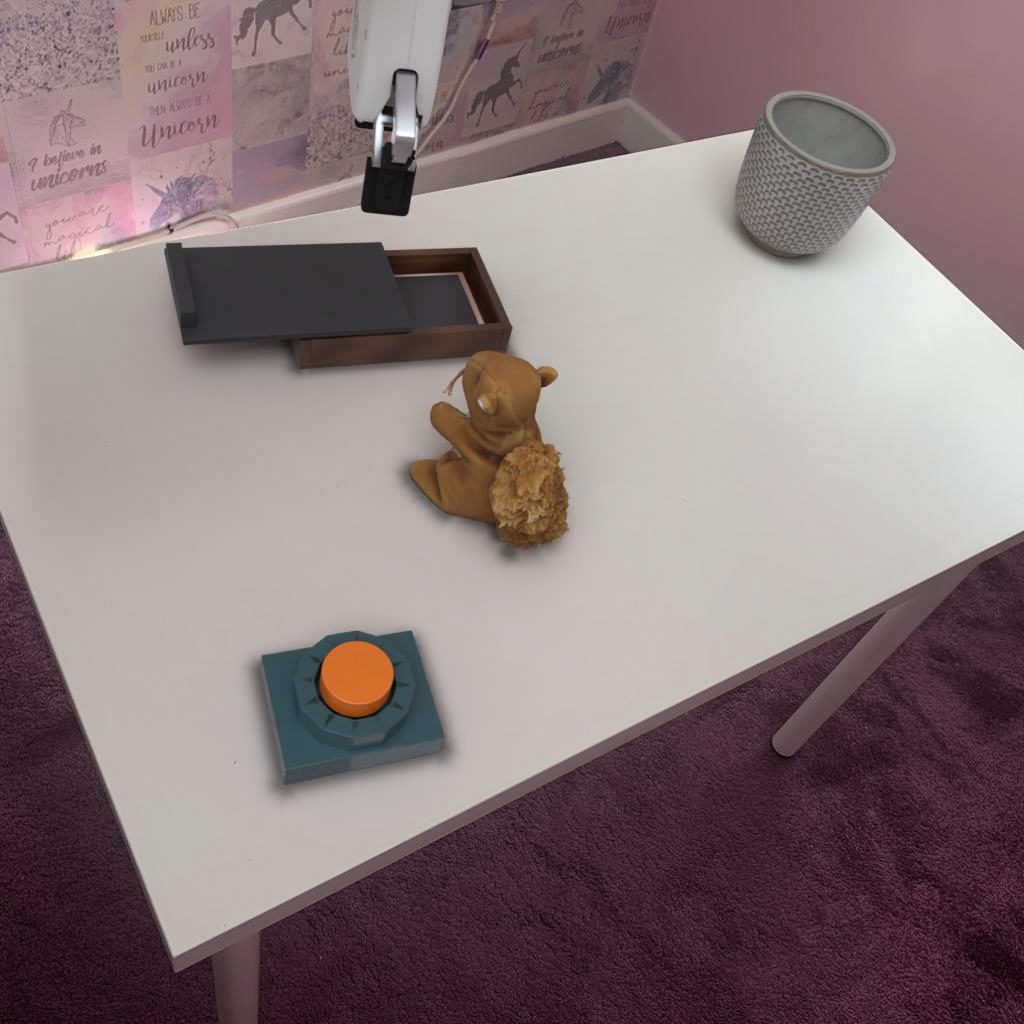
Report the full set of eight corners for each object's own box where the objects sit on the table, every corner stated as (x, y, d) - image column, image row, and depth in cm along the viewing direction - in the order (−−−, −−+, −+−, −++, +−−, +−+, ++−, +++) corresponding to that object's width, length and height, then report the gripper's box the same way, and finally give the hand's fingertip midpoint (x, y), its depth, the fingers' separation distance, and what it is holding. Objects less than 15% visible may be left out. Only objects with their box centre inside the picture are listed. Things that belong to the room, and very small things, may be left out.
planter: (689, 211, 112) (735, 101, 102) (775, 185, 119) (826, 80, 109) (778, 294, 107) (836, 186, 97) (862, 261, 114) (925, 158, 104)
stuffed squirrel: (500, 422, 87) (538, 301, 77) (596, 550, 81) (651, 438, 71) (394, 456, 83) (420, 333, 72) (488, 595, 77) (530, 482, 66)
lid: (183, 346, 80) (182, 324, 78) (164, 253, 86) (163, 231, 84) (412, 331, 87) (416, 311, 85) (380, 247, 92) (384, 226, 91)
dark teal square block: (283, 785, 65) (287, 757, 62) (259, 671, 69) (262, 640, 66) (439, 752, 68) (450, 724, 65) (407, 646, 73) (416, 615, 69)
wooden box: (298, 369, 86) (301, 341, 84) (274, 281, 92) (275, 253, 89) (505, 354, 93) (513, 328, 90) (470, 273, 98) (476, 246, 96)
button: (327, 723, 64) (330, 710, 63) (312, 661, 66) (314, 646, 65) (398, 710, 65) (401, 696, 64) (380, 649, 68) (384, 635, 66)
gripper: (346, -159, 65) (322, 92, 79) (359, -20, 55) (329, 242, 68) (464, -137, 67) (422, 105, 80) (498, 2, 57) (443, 253, 70)
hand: (379, 168), depth 74 cm, fingers open, 9 cm apart
